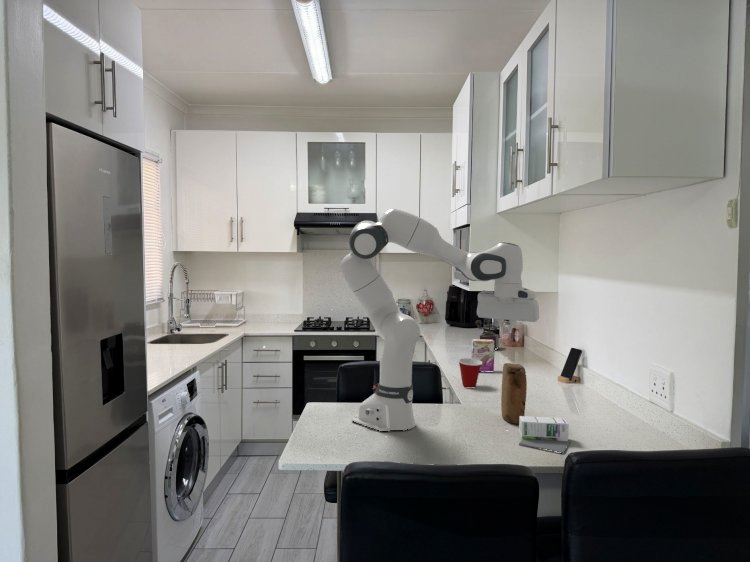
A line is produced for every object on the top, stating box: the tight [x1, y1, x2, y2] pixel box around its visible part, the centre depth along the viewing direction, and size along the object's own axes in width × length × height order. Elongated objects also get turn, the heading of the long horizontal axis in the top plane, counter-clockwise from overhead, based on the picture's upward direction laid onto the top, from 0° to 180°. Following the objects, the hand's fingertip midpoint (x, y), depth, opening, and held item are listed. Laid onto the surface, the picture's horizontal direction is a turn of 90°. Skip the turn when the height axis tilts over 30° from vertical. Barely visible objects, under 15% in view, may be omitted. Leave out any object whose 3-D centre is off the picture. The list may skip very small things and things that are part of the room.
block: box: [500, 362, 528, 425], centre depth 176 cm, size 11×8×20 cm
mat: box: [518, 438, 572, 453], centre depth 154 cm, size 13×12×1 cm
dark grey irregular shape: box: [475, 319, 500, 348], centre depth 318 cm, size 16×11×18 cm
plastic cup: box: [458, 357, 482, 388], centre depth 222 cm, size 11×11×12 cm
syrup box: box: [518, 415, 569, 441], centre depth 158 cm, size 6×6×14 cm
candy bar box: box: [470, 338, 495, 372], centre depth 253 cm, size 11×5×16 cm, turn 89°
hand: (506, 333), depth 164 cm, fingers closed
